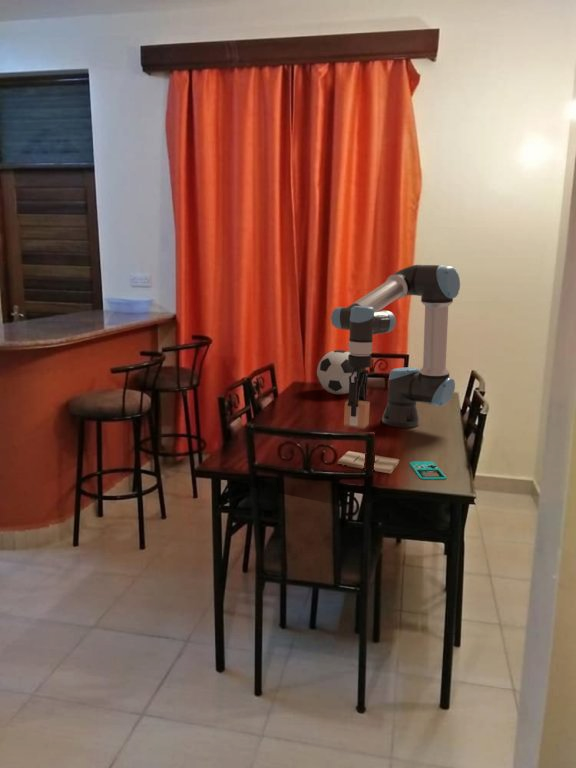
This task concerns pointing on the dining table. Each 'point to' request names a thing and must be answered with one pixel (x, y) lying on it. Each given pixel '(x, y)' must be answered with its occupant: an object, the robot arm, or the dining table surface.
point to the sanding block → (363, 414)
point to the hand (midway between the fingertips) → (356, 423)
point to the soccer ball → (335, 372)
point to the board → (359, 459)
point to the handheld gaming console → (427, 466)
